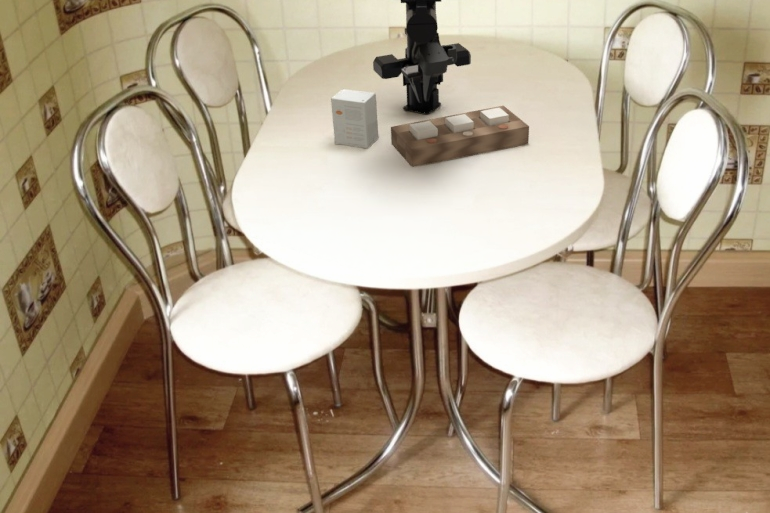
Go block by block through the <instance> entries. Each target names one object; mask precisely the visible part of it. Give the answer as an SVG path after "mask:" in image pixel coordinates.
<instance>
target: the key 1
mask: <svg viewBox="0 0 770 513" xmlns="http://www.w3.org/2000/svg"><path fill="white" fill-rule="evenodd" d="M410 134H411V135H412V136H413V137H414V138H415V139H416V140H421V139H426V138H431V137H436V136H438V129H437V128H436V127H435V126H434V125H433V124H432V123H431V122H430V121H426V122H421V123H415V124H410Z"/></svg>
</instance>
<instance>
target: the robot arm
mask: <svg viewBox="0 0 770 513" xmlns="http://www.w3.org/2000/svg"><path fill="white" fill-rule="evenodd" d="M437 2H438V3H440V2H442V0H400V3H401V4H405V15H406V16H405V17H406V18H405V22H406V23H405V26H406V27H405V28H404V34H405V35H406V48H404V50H405V52H404V54H405V55H404V57H403V58H397V57H396V56H395V55H394V54H393V53H391V54H386V55H379V56H376V57H375V58H374V59H373V61H372V64H373V65H372V69H373V71H374V72H375V73H376V74H377V75H378V76H379V77H380V78H381V79H383V80H389V79H393V78H398V77H400V75H401V74H402V86H403V87H406V88H405V89H406V90H405V91H406V105H404V106H403V107H402V109H403V110H405V111H409V112H412V113H418V114H422V115H423V114H424V115H428V114H430V113H432V112H433V111H435V109H437V108H439V107H441V105H442V102H440V101H439V100H440V98H439V97H440V96H439V94H440V93H439V92H440V91H439V88H438V86H441V83H443V82H444V74H445V73H447V71H448V66H453V65H455V66H456V67H463V66H469V65H470V64H472V62H471V61H472V55H471V52H470V51H469V49H467V48H466V47H464V46H463V45H462V44H461V43H459V42H458V43H452V44H444V45H442V44H441V41H440V36H439V32H438V28H439V27H438V19H437V10H436V9H437Z"/></svg>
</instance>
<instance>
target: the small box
mask: <svg viewBox="0 0 770 513" xmlns="http://www.w3.org/2000/svg"><path fill="white" fill-rule="evenodd" d="M330 102H331V104H330V105H331V114H332V126H333V135H334V138H333V139H334V144H336V145H341V146H348V147H353V148H354V147H357V148H362V149H369V148H370V147H372V145H374V143H375V142H376V141H377V140H379V137H380V136H379V124H378V123H379V122H378V108H377V94H376V92H372V91H371V92H370V91H361V90H354V89H346V88H345V89H344V88H343V89H341V90H340V91H339V92H337V93H335V95H334V96H332V97H331V98H330Z"/></svg>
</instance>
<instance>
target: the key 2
mask: <svg viewBox="0 0 770 513" xmlns="http://www.w3.org/2000/svg"><path fill="white" fill-rule="evenodd" d="M480 119H481V120H482V121H483V122H484V123H486V124H487V125H488V126H493V125H498V124H503V123H508V122H509V115H508V114H507V113H506V112H504V111H503V110H502V109H501V108H494V109H489V110H484V111H481V113H480Z"/></svg>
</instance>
